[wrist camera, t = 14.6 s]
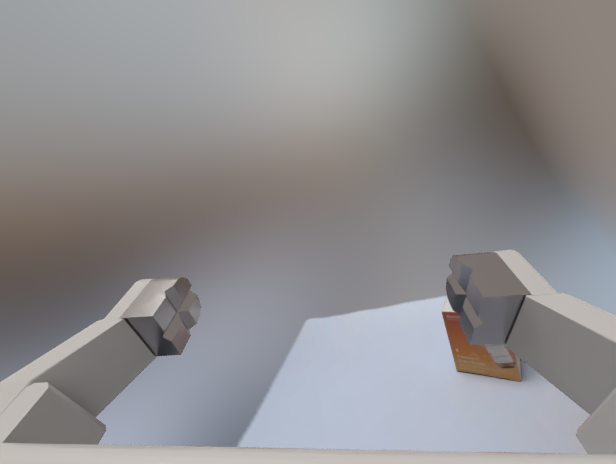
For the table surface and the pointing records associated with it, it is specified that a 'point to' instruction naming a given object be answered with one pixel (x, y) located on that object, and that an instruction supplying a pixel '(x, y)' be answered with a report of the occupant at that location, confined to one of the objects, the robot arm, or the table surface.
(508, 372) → the small box
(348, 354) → the table surface
